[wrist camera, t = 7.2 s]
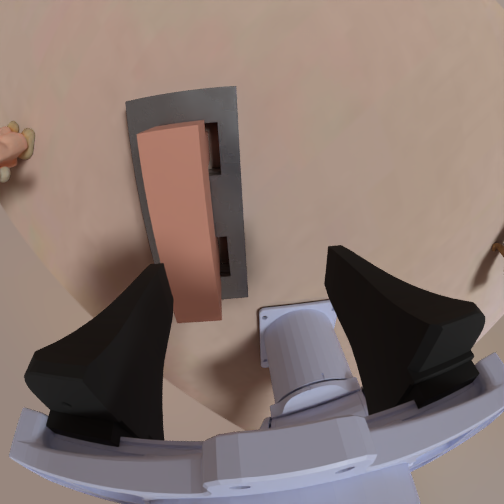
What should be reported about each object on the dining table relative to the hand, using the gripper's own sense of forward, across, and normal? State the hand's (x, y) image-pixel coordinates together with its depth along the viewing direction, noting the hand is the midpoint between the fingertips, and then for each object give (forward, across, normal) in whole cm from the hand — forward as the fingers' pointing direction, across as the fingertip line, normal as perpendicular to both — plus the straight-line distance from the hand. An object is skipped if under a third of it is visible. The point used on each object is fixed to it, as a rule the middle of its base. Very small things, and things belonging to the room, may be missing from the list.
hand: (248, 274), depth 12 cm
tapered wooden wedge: (+10, +3, 0) cm, 10 cm away
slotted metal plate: (+10, +3, 0) cm, 10 cm away
